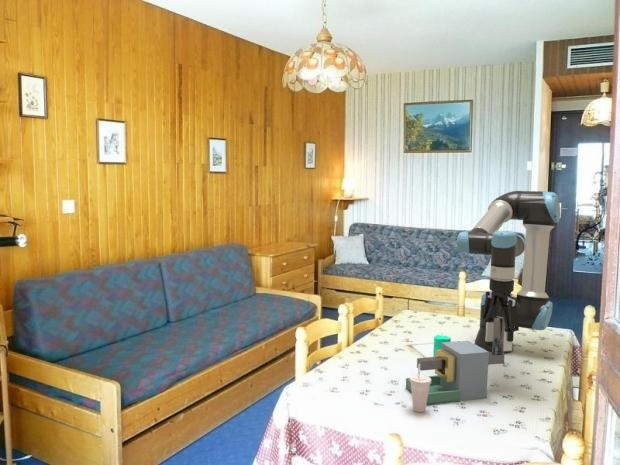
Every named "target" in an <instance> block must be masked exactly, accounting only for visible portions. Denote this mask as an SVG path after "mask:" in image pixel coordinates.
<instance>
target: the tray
mask: <svg viewBox="0 0 620 465" xmlns="http://www.w3.org/2000/svg"><path fill="white" fill-rule="evenodd" d="M427 376H428V377H430V378H431V384H430V387H429V393H428V399H427V405H426V406H433V405H441V404H450V403H459V402H461V400H460V390H453V391H448V390H446V389H445V388H444V387H443V386H441V385H440V377H439V376H438V375H437V374H435V375H427ZM405 389H406V390H407V391H408V392H409V393H411V394H412V391H411V382H410V377H406V378H405Z"/></svg>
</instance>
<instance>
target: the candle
mask: <svg viewBox="0 0 620 465" xmlns="http://www.w3.org/2000/svg"><path fill="white" fill-rule="evenodd" d="M443 334H444V333H443V332H442V334H441V335H440V334H437V335H435V336H433V353H432V354H433V355H432V357H435V356H436V349H441V345H442V343H443V342H452V341H451V340H452V339H451V338H452V337H449V336H448V335H443Z"/></svg>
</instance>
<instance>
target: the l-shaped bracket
mask: <svg viewBox="0 0 620 465" xmlns="http://www.w3.org/2000/svg"><path fill="white" fill-rule="evenodd" d="M504 330H505V323H504V318H503V317H499V316H496V317H494V328H493V347H492V352H489V361H488V366H489V365H501V364H505V354H506V353H504V351H503V347H504ZM445 362H446V361H445V360H444V359H442V358H441V357H433V356H429V357H417V358H416V368H417V369H418V364H420V372H422V371H432V370H434V371H435V369H445Z"/></svg>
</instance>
